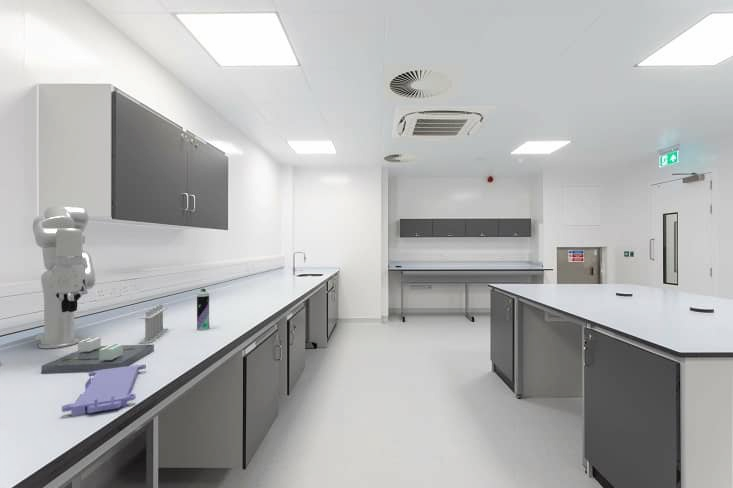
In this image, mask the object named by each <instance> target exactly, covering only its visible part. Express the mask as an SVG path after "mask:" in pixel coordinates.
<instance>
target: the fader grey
mask: <svg viewBox="0 0 733 488" xmlns="http://www.w3.org/2000/svg"><path fill="white" fill-rule="evenodd" d="M101 346H102V339H101V336H100V337H96V336H94V337H88V338H85V339H83V340H79V342H78V343H77V351H78V352H87V351H92V350H94V349H97V348H99V347H101Z"/></svg>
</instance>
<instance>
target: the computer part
mask: <svg viewBox="0 0 733 488" xmlns="http://www.w3.org/2000/svg"><path fill="white" fill-rule="evenodd" d="M146 368H147V364H146V363H145V364H135V365H134V364H133V365H129V366H126V367H118V368H111V369H103V370H98V371H91V372H88V377H89V379H88V380H87V381H86V383H85V384H84V392H83V393H80V394H79V396H78V397H77V399H75V402H73V403H69V404H65V405H63V406H61V412H62V413H64V412H66V413H67V412H71V417H77V416H84V415H85V414H86V413H87V414H90V413H96V412H103V410H104V411H108V410H109V409H110V410H113V409H119V408H126V406H127V404H128V402H129V401H134V400H136V393H132V390H133V388H134V386H135V383H136V380H137V378H138V375H139V372H140V370H146Z"/></svg>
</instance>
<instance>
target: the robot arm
mask: <svg viewBox="0 0 733 488" xmlns="http://www.w3.org/2000/svg"><path fill="white" fill-rule="evenodd" d="M88 223H89V214H88V211H87V210H86V209H85V208H84V207H81V206H71V205H70V206H68V205H52V206H49V207H47V208H45V211H44V213H43V215H42V216H38V217H36V218H35V219H34V220H33V222H32V230H33V231H32V232H33V235H34V239H35V242H36V245H37V247H40V248H41V249H42V251H41V252H42V259H43V265H44V268H45V270H46V271H44V272H43V273H42V274H41V277H40V281H41V282H40V283H41V288H42V292H43V293H42V294H43V312H44V313H43V334H38V335H36V337H35V338H34V341H35V342H38V341H39V342H41V343H39V344H38V348H39V349H46V350H47V349H48V350H49V349H58V348H64V347H69V346H73V345H76V344H78V342H80V338H77V337H75V312H77V311H78V301H79V300H80V298H82V296H85V295H87V294H88V293H89V292H88V290H92V288H93V287H94V286H95V285H96V275H95V269H94V264H93V260H92V256H91V255H90V253H89V252H88V251H85V250H83V245H84V244H85V243H86V242H85V241H86V234H85V233H84V232H85V228H86V227H87V225H88ZM69 294H70V295H69Z"/></svg>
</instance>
